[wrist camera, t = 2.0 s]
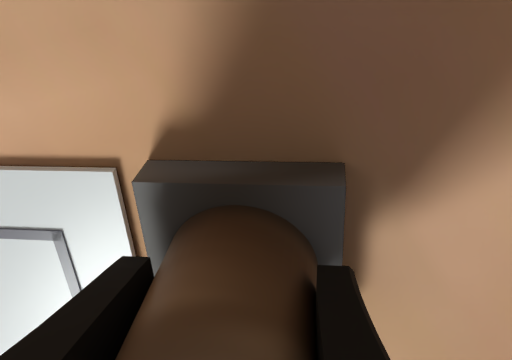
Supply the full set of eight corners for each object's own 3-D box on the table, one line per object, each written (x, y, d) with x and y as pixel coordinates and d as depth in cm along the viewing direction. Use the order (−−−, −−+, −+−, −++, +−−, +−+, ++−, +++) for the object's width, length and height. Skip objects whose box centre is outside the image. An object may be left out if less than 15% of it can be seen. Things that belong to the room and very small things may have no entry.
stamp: (344, 162, 10) (365, 485, 4) (337, 312, 12) (345, 656, 6) (147, 159, 11) (-56, 438, 5) (174, 302, 13) (54, 609, 7)
